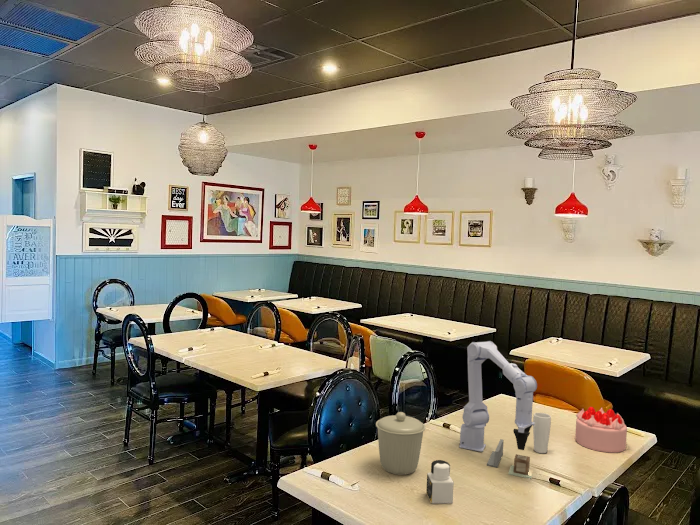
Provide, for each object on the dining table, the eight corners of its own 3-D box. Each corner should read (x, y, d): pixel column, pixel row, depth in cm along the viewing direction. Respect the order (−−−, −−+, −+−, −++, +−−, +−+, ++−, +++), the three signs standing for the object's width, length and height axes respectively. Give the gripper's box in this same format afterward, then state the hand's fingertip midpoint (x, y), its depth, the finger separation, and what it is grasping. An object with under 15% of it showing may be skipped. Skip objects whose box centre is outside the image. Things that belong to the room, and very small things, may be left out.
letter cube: (513, 472, 195) (514, 458, 195) (515, 467, 200) (515, 453, 199) (527, 475, 193) (528, 461, 193) (529, 470, 197) (529, 456, 197)
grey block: (486, 465, 201) (487, 449, 201) (492, 452, 214) (493, 437, 214) (497, 467, 200) (498, 451, 199) (502, 454, 212) (503, 439, 212)
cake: (620, 457, 214) (622, 422, 213) (568, 444, 226) (570, 411, 225) (629, 443, 230) (631, 411, 229) (580, 432, 242) (582, 401, 241)
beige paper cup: (550, 455, 213) (552, 418, 212) (532, 453, 214) (534, 416, 214) (547, 449, 220) (549, 413, 219) (530, 447, 221) (532, 411, 220)
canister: (427, 463, 201) (430, 408, 200) (417, 483, 184) (420, 423, 183) (381, 455, 207) (383, 402, 206) (368, 474, 190) (370, 416, 189)
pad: (508, 474, 194) (508, 473, 194) (511, 466, 202) (511, 465, 202) (531, 478, 191) (531, 477, 191) (533, 470, 198) (533, 469, 198)
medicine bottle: (426, 493, 177) (427, 457, 177) (447, 493, 178) (448, 457, 177) (431, 503, 170) (432, 467, 170) (452, 503, 171) (454, 467, 170)
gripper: (533, 417, 187) (531, 454, 188) (537, 405, 200) (535, 441, 201) (512, 413, 190) (511, 451, 191) (517, 402, 203) (515, 437, 204)
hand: (522, 445), depth 196 cm, fingers open, 7 cm apart
